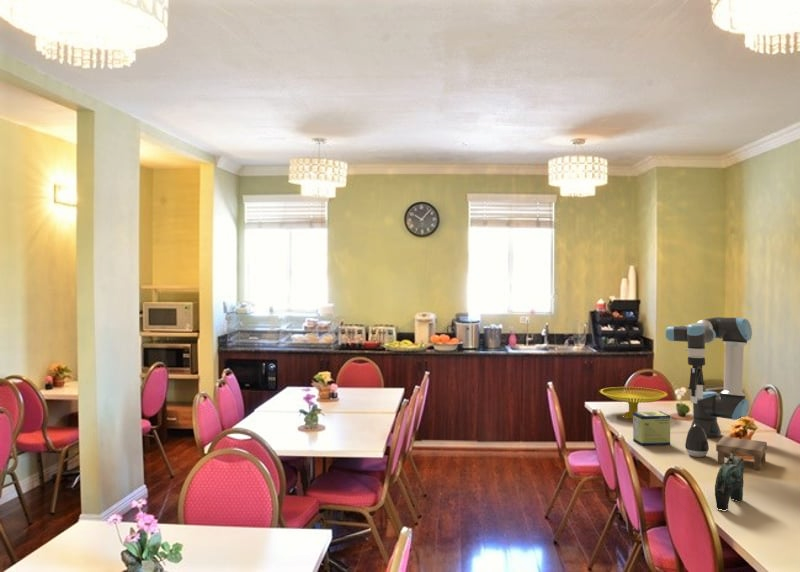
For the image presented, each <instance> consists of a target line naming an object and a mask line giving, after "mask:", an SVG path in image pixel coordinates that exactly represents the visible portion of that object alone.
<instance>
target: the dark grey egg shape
mask: <svg viewBox="0 0 800 572" xmlns="http://www.w3.org/2000/svg"><path fill="white" fill-rule="evenodd" d="M691 425H692V424H691ZM691 425H690V427H691V428H689V429H688V431H687V435H686V438H685V442H684V443H685V444H684V447H685V449H686V452H687V454H688V455H690V456H691V457H694V458H704V457H705V456H706V455H707V454H708V452H709V449H710V448H709V447H710V446H709V442H708V441H709V440H708V437H706V434H705V431H704V429H703V428H702V427H701V426H700V425H697V424H694V425H692V426H691Z"/></svg>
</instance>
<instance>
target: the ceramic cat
mask: <svg viewBox="0 0 800 572" xmlns="http://www.w3.org/2000/svg"><path fill="white" fill-rule="evenodd" d="M731 452H732V451H729V453H728V455H730V457H726V458H727V460H726V462H725V463H724V464H723V465H721V466H720V468H719V469H718V472H717V474H716V478H715V484H714V496H715V502H716V509H717V508H718V509H722V510H726V509H728V510H729V503H730V500H731V499H734V500H737V501H740V502H741V501H743V498H744V497H743V496H744V490H743V489H744V477H745V476H744V472H745V460H744V458H743V457H740V456H738V454H735V453H733V452H732V453H731ZM731 454H732V455H731ZM737 501H736V502H737Z"/></svg>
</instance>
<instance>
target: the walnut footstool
mask: <svg viewBox="0 0 800 572" xmlns="http://www.w3.org/2000/svg"><path fill="white" fill-rule="evenodd" d="M767 443H768V442H767V441H762V440H754V439H748V438H747V439H746V438H741V439H739V437H732V436H726V435H725V436H723V435H722V437H721V438H720V439H719V440H718V441H717V443H716V444H715V452H717V464H718V465H721V466H722V465H723V464H724V463H726V462H725V461H726V460H725V458H727V457H730V456H731V454H732V452H733V453H735V454H736V455H741V456H747V457H753V464H754V465H753V466H754V467H753V470H754V471H758V472H759V471H760V472H761V471H762V463H766V461H767V460H766V451H767V448H768V444H767ZM729 451H732V452H731V453H730V455H728V453H729Z"/></svg>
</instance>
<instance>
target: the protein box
mask: <svg viewBox="0 0 800 572" xmlns="http://www.w3.org/2000/svg"><path fill="white" fill-rule="evenodd" d="M632 429H633V430H632V437H633V438H632V441H633V442H635V443H636V444H638V445H640V446H642V447H643V446H644V447H645V446H646V447H647V446H648V447H649V446H651V447H653V446H654V447H655V446H671V415H670V414H667V413H665V412H663V411H662V410H661V411H660V410H655V411H638V412H633V419H632Z"/></svg>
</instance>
